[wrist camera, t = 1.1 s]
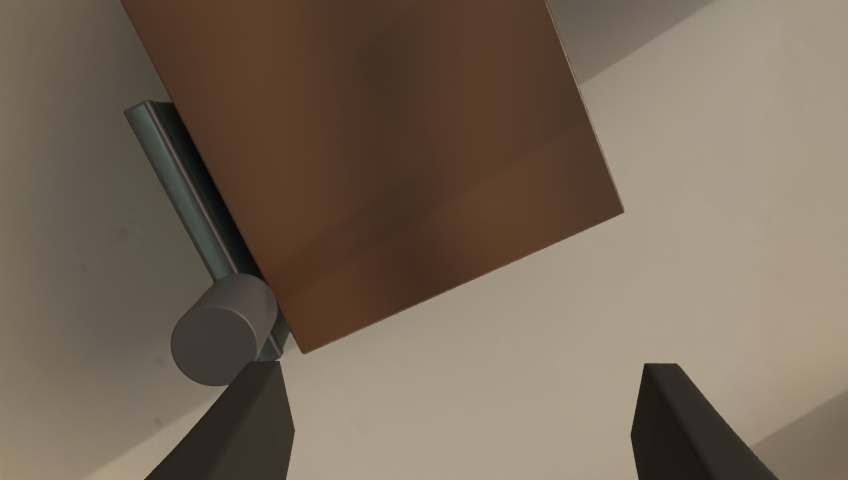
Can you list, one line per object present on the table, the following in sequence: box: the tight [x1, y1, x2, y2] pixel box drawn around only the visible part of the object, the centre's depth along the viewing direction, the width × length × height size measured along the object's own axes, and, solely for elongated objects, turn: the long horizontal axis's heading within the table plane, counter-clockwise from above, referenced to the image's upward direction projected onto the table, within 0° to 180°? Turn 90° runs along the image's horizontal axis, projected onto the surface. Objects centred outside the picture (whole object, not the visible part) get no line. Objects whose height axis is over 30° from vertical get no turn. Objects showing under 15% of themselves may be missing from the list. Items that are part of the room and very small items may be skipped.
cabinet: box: [120, 0, 624, 354], centre depth 20 cm, size 12×16×7 cm
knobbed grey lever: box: [124, 101, 290, 386], centre depth 19 cm, size 2×8×9 cm, turn 24°
